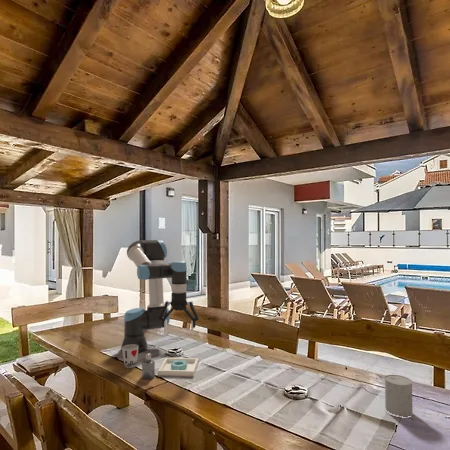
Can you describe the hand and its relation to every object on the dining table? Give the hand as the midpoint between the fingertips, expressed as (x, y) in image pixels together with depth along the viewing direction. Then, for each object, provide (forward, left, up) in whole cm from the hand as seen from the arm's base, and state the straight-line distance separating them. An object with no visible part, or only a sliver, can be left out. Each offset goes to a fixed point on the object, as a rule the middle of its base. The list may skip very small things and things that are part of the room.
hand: (178, 333), depth 179 cm
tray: (0, 0, -18) cm, 18 cm away
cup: (-3, -26, -18) cm, 32 cm away
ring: (0, 0, -17) cm, 17 cm away
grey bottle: (+10, -13, -18) cm, 24 cm away
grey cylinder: (+38, +92, -18) cm, 101 cm away
